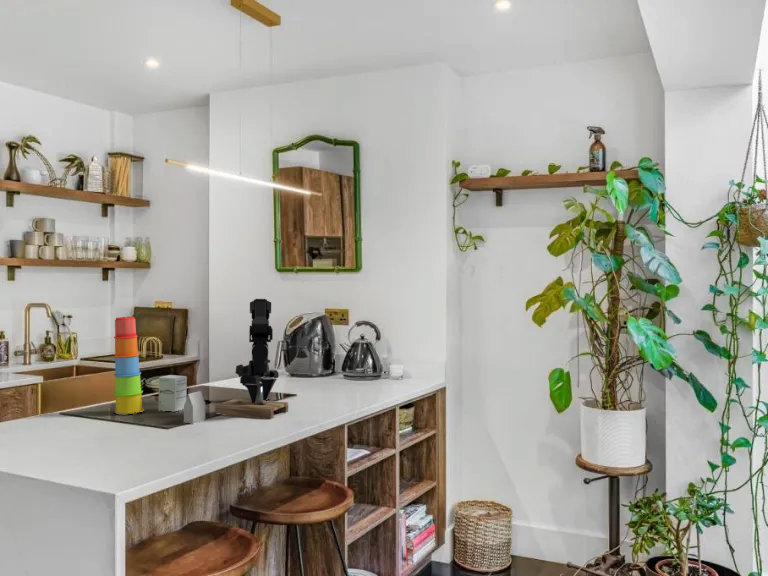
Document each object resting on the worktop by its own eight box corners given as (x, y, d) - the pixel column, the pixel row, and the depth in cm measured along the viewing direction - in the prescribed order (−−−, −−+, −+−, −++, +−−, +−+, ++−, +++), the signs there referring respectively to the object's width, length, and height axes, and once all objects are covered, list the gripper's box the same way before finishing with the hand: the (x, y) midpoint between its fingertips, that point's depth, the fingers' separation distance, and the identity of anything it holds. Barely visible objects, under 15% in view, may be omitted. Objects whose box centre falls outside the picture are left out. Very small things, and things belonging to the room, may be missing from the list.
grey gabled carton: (205, 420, 234) (205, 391, 234) (192, 424, 228) (193, 394, 228) (196, 419, 236) (196, 390, 235) (183, 423, 229) (183, 393, 229)
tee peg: (256, 412, 250) (256, 385, 249) (268, 413, 248) (268, 385, 248) (250, 414, 245) (250, 386, 245) (262, 415, 244) (262, 387, 244)
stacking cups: (138, 415, 242) (138, 317, 241) (109, 415, 242) (109, 317, 241) (148, 410, 252) (148, 316, 252) (120, 410, 252) (120, 316, 252)
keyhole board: (235, 408, 257) (235, 398, 257) (288, 411, 251) (288, 402, 251) (215, 414, 244) (215, 405, 244) (270, 419, 238) (270, 408, 238)
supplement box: (157, 411, 249) (157, 377, 249) (170, 408, 256) (170, 374, 256) (174, 413, 247) (175, 378, 247) (187, 409, 254) (187, 375, 254)
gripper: (252, 354, 258) (252, 395, 258) (226, 359, 240) (226, 403, 240) (279, 355, 254) (279, 397, 255) (255, 360, 237) (255, 405, 237)
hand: (259, 400), depth 247 cm, fingers open, 9 cm apart
